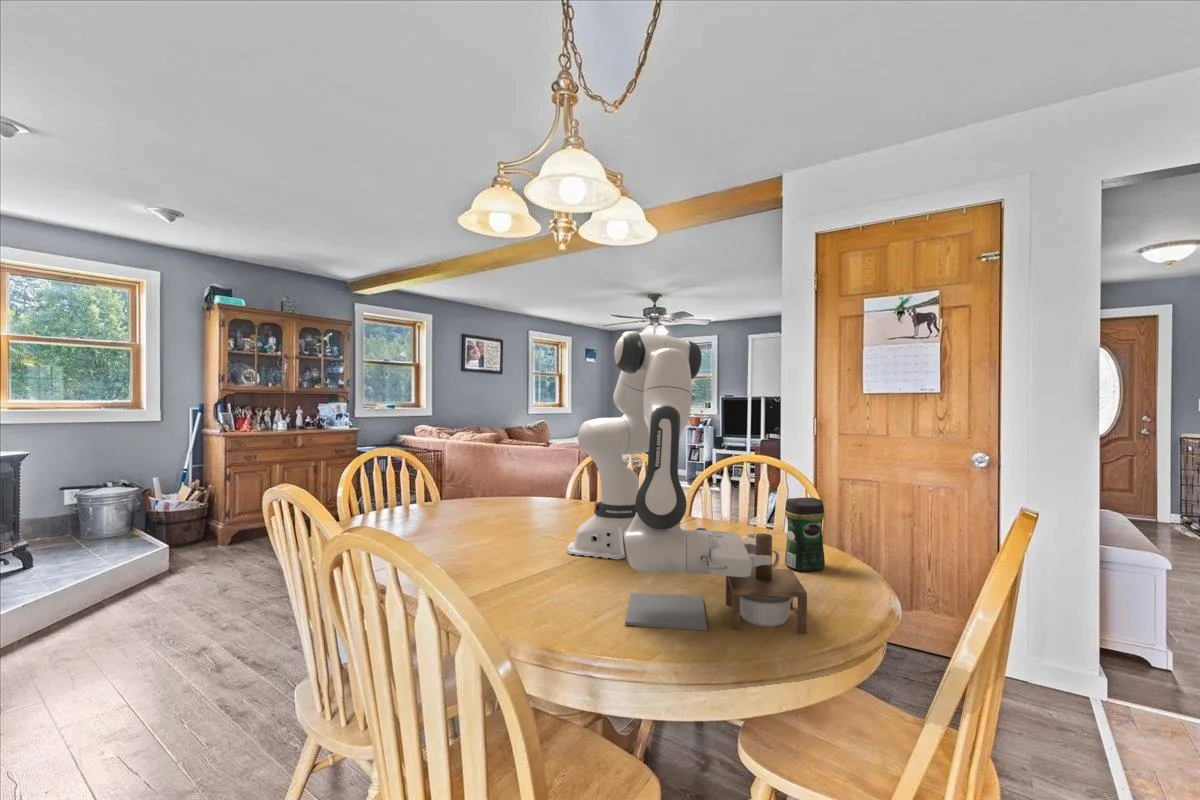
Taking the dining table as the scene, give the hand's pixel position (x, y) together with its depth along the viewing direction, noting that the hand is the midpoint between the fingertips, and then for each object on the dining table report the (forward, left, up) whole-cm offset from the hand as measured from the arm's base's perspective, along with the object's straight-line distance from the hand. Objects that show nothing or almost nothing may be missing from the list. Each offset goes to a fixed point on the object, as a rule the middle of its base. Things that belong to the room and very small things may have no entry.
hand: (768, 554), depth 115 cm
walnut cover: (-1, 0, -13) cm, 13 cm away
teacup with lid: (+1, +24, -13) cm, 27 cm away
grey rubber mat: (-21, 0, -13) cm, 25 cm away
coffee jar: (+15, +35, -13) cm, 40 cm away
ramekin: (-1, 0, -13) cm, 13 cm away
